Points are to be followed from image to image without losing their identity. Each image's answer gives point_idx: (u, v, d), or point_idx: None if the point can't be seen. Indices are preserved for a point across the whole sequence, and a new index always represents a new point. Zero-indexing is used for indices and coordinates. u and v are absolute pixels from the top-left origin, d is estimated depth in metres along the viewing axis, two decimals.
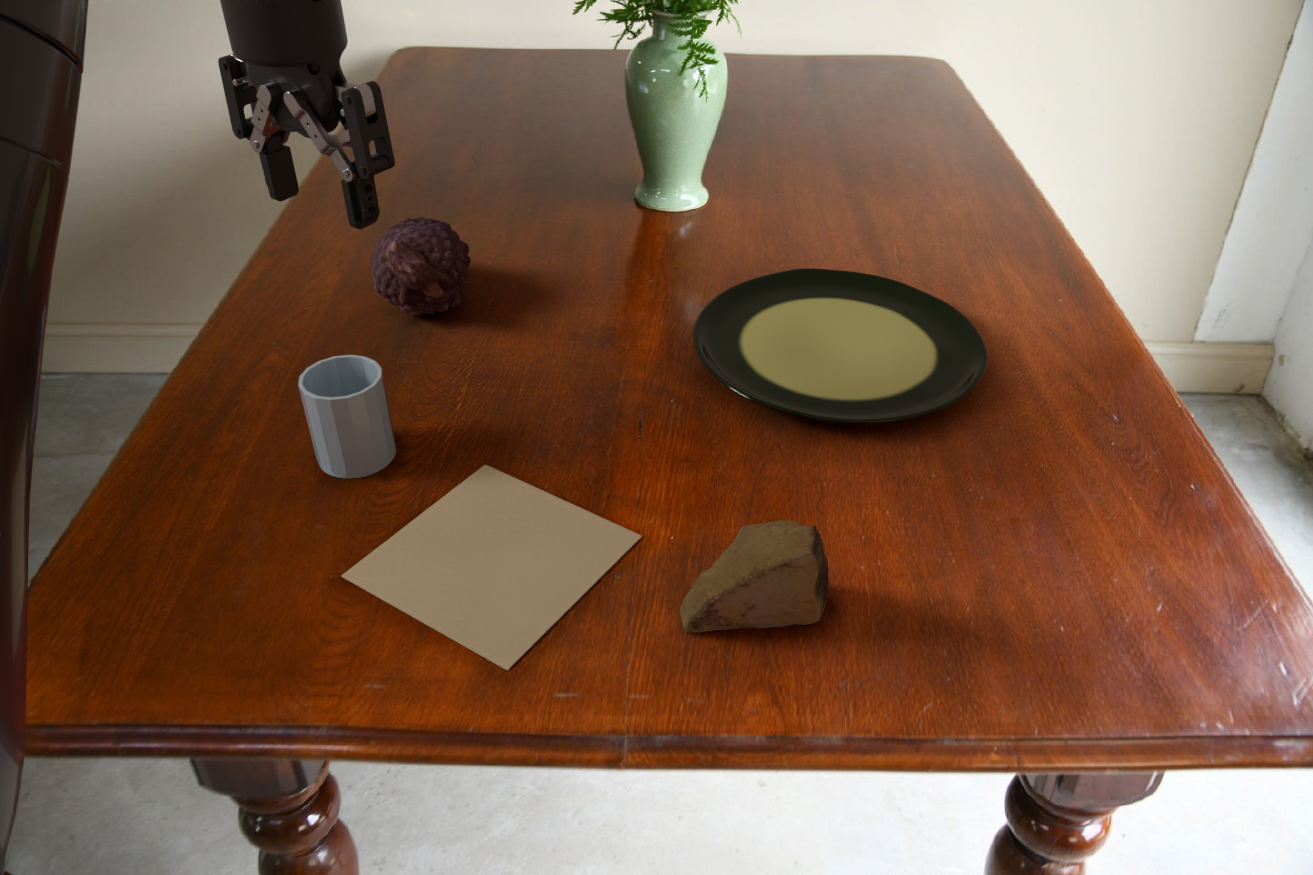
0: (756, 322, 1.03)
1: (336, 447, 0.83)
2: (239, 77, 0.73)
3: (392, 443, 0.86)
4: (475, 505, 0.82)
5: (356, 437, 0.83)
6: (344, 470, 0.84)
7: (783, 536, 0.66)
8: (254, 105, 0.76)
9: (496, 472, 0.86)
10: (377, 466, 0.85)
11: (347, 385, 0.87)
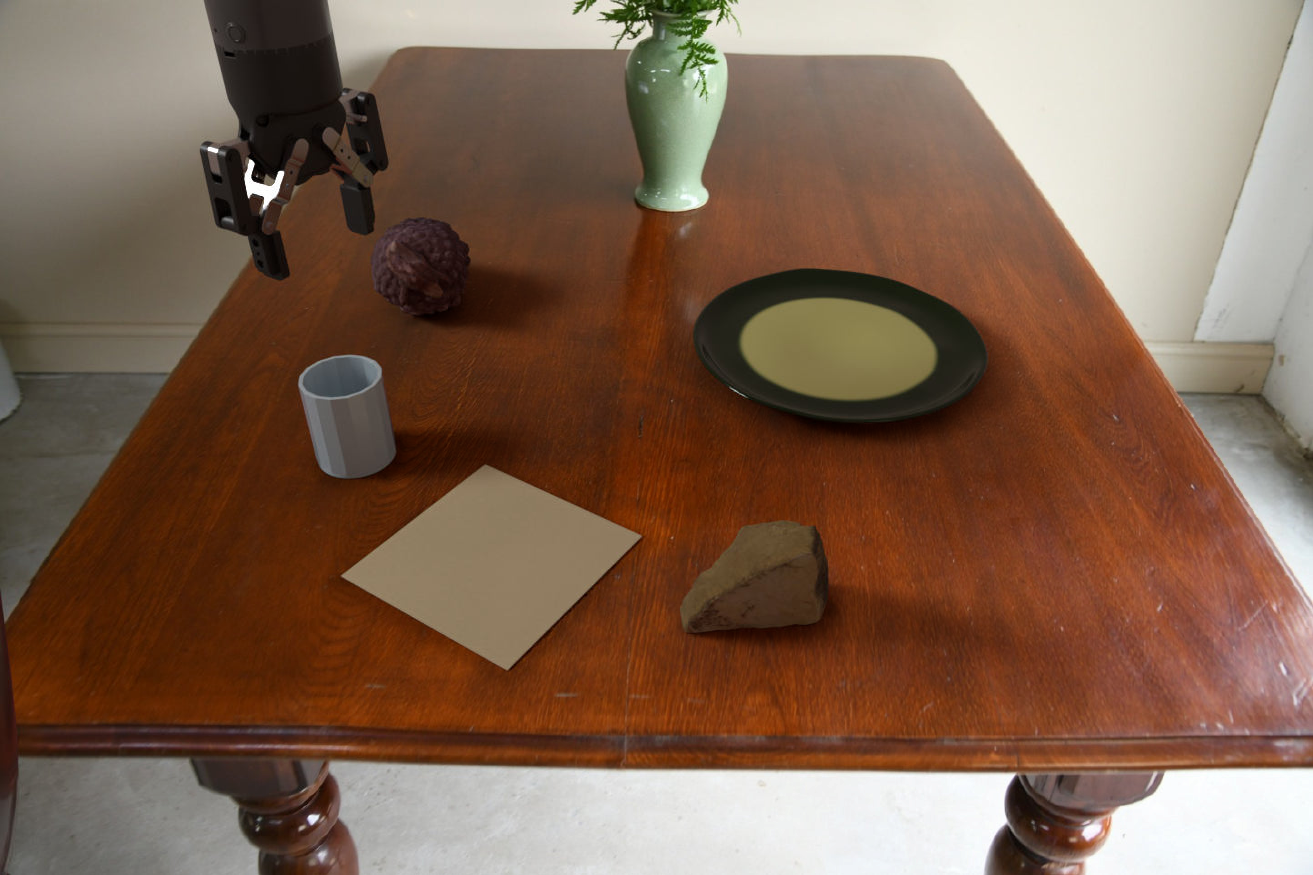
0: (756, 322, 1.03)
1: (336, 447, 0.83)
2: None
3: (392, 443, 0.86)
4: (475, 505, 0.82)
5: (356, 437, 0.83)
6: (344, 470, 0.84)
7: (783, 536, 0.66)
8: None
9: (496, 472, 0.86)
10: (377, 466, 0.85)
11: (347, 385, 0.87)
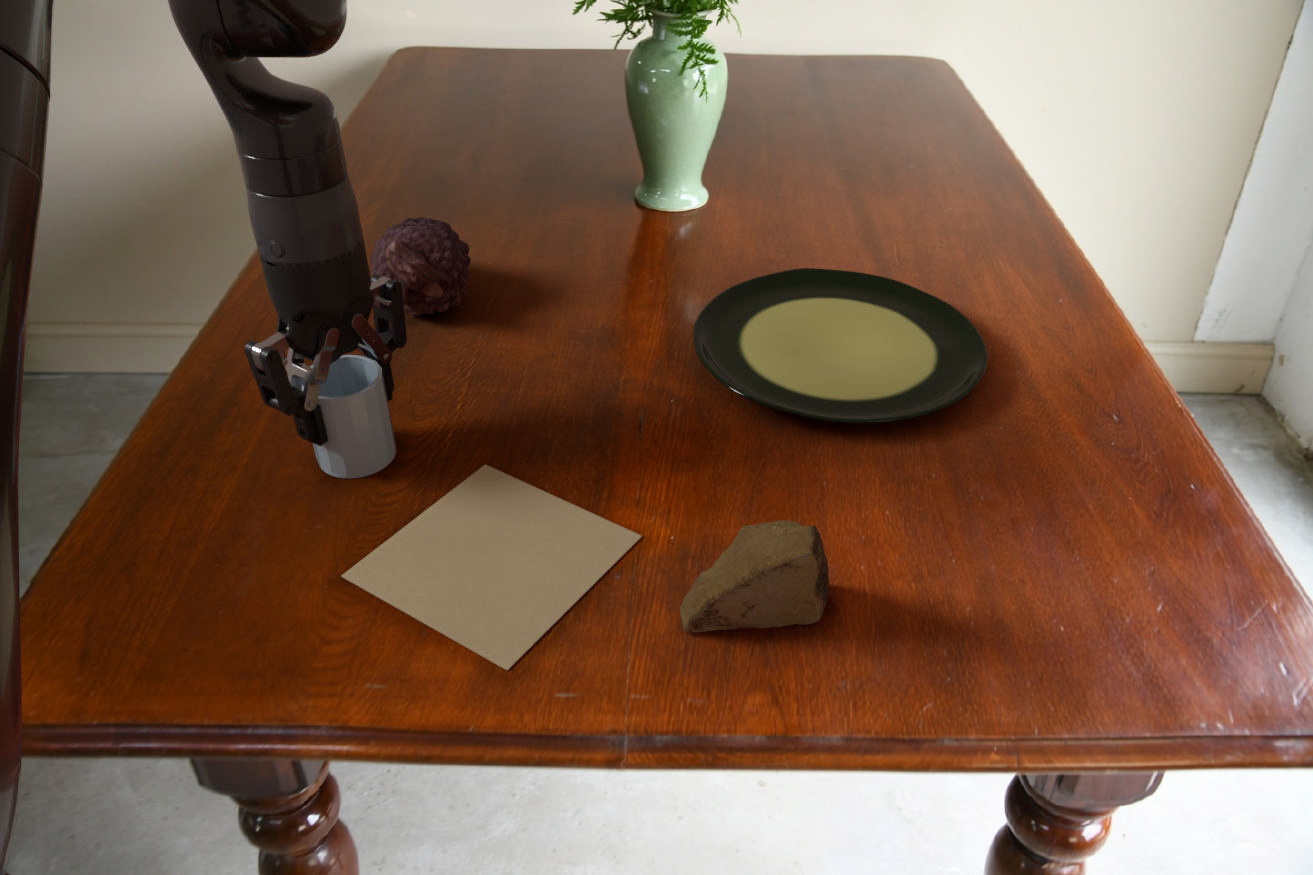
0: (756, 322, 1.03)
1: (336, 447, 0.83)
2: None
3: (392, 443, 0.86)
4: (475, 505, 0.82)
5: (356, 436, 0.83)
6: (344, 470, 0.84)
7: (783, 536, 0.66)
8: None
9: (496, 472, 0.86)
10: (377, 466, 0.85)
11: (347, 385, 0.87)
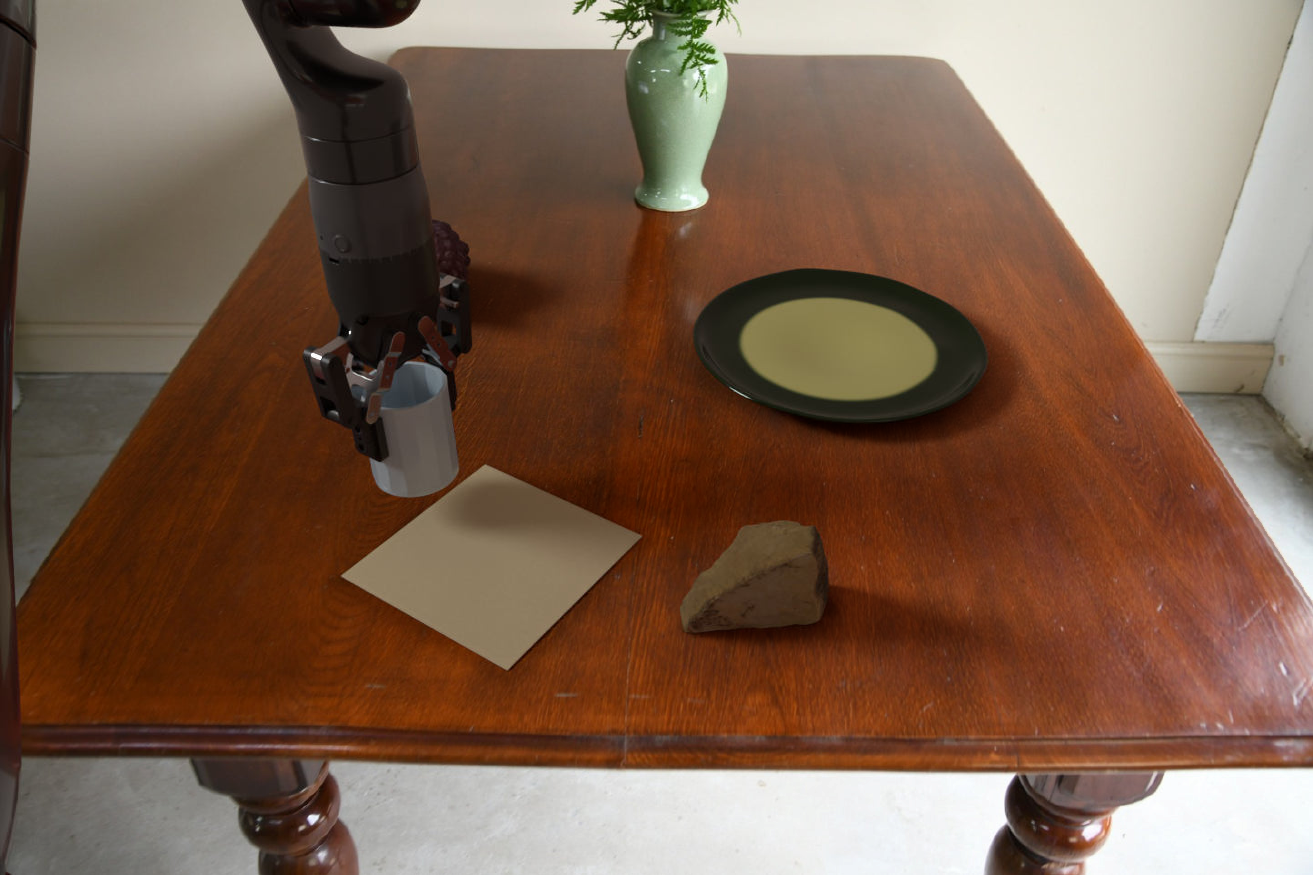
0: (756, 322, 1.03)
1: (397, 463, 0.75)
2: None
3: (456, 458, 0.79)
4: (475, 505, 0.82)
5: (420, 451, 0.75)
6: (405, 488, 0.77)
7: (783, 536, 0.66)
8: None
9: (496, 472, 0.86)
10: (440, 483, 0.78)
11: (407, 395, 0.79)
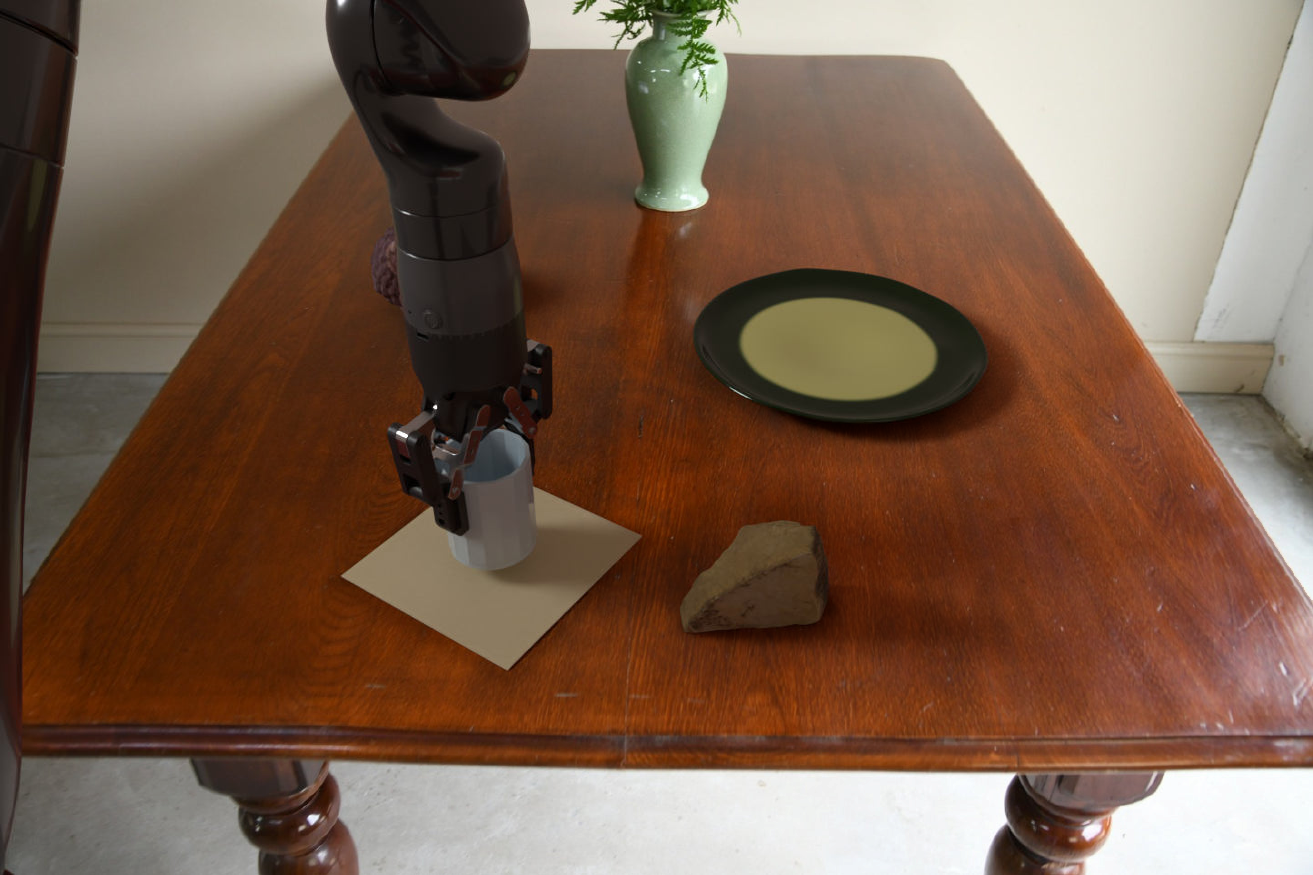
0: (756, 322, 1.03)
1: (478, 536, 0.72)
2: None
3: (535, 528, 0.75)
4: None
5: (501, 525, 0.72)
6: (484, 561, 0.73)
7: (783, 536, 0.66)
8: None
9: None
10: (520, 555, 0.74)
11: (484, 461, 0.76)
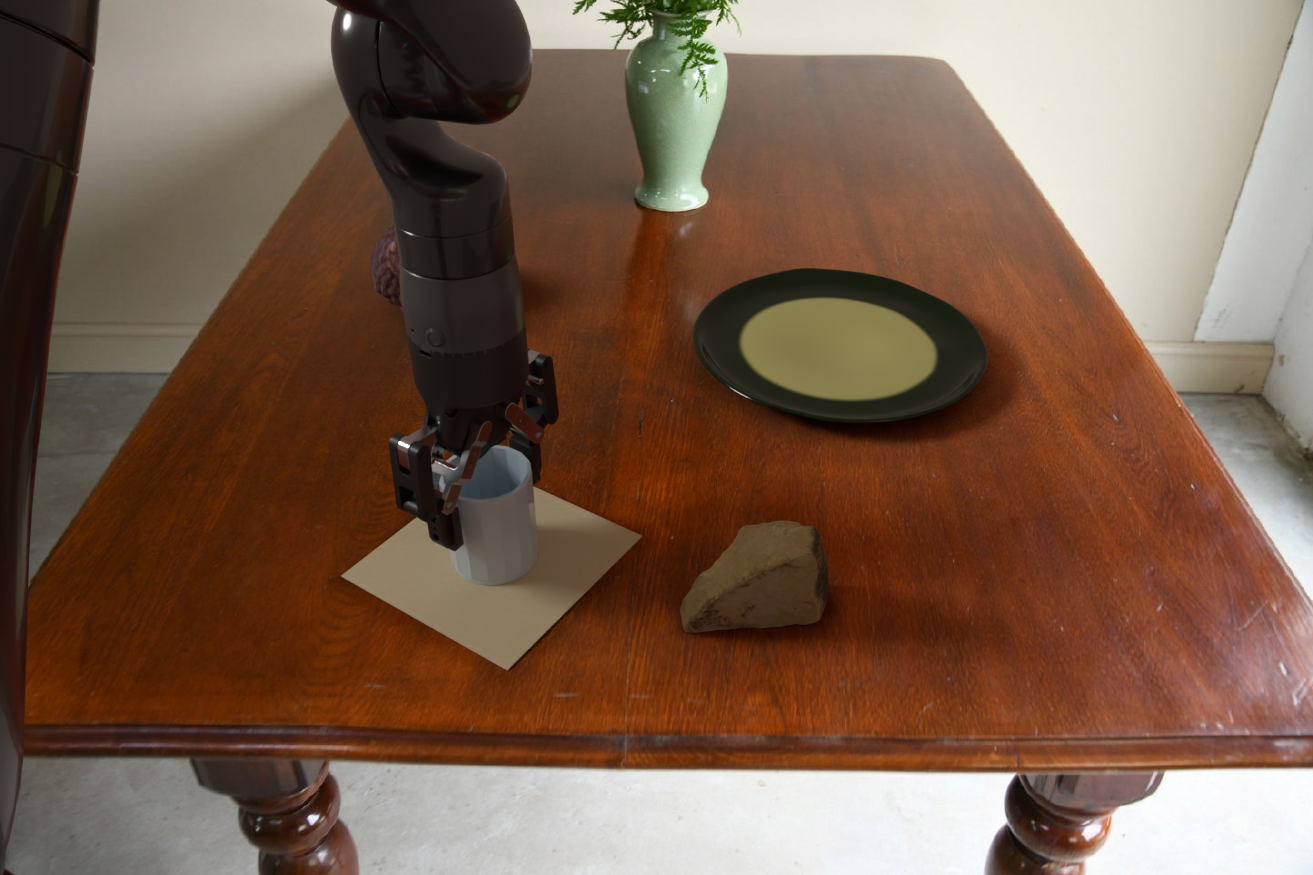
0: (756, 322, 1.03)
1: (480, 552, 0.73)
2: None
3: (536, 543, 0.76)
4: None
5: (503, 541, 0.73)
6: (486, 577, 0.74)
7: (783, 536, 0.66)
8: None
9: None
10: (522, 571, 0.75)
11: (486, 477, 0.77)
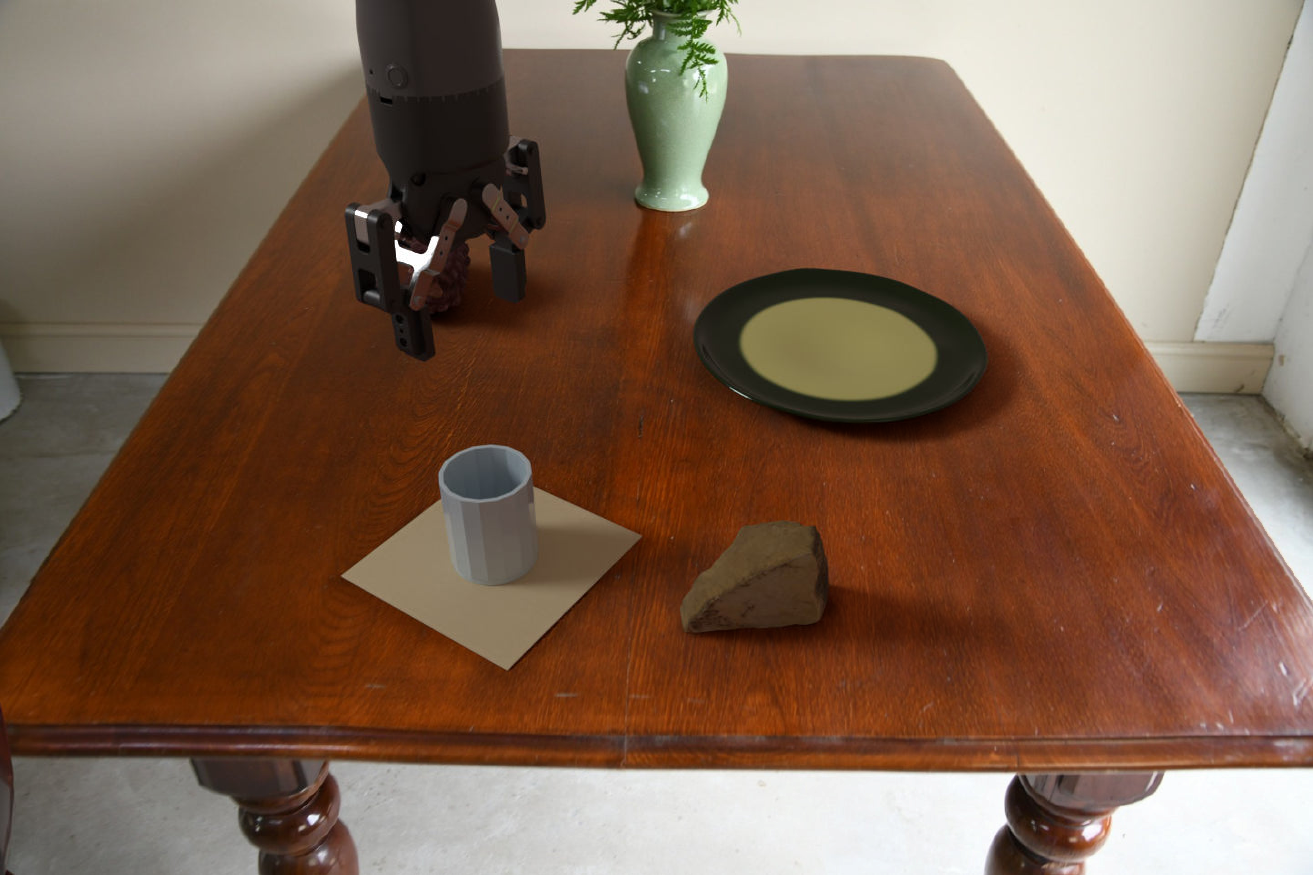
0: (756, 322, 1.03)
1: (480, 552, 0.73)
2: None
3: (536, 543, 0.76)
4: None
5: (503, 541, 0.73)
6: (486, 577, 0.74)
7: (783, 536, 0.66)
8: None
9: None
10: (522, 571, 0.75)
11: (486, 477, 0.77)
